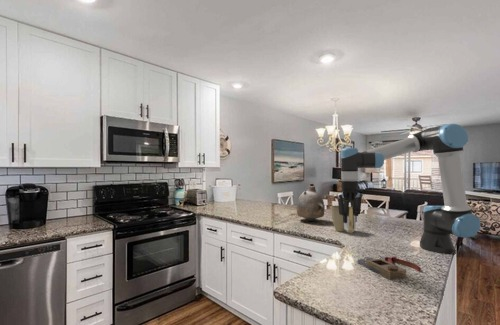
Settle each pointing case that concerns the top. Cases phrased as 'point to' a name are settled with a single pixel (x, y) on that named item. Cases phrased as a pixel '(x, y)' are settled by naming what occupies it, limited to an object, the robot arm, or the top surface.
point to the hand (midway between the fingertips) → (349, 229)
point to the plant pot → (337, 219)
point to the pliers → (400, 261)
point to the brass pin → (350, 219)
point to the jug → (310, 204)
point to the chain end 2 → (387, 269)
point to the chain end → (363, 262)
